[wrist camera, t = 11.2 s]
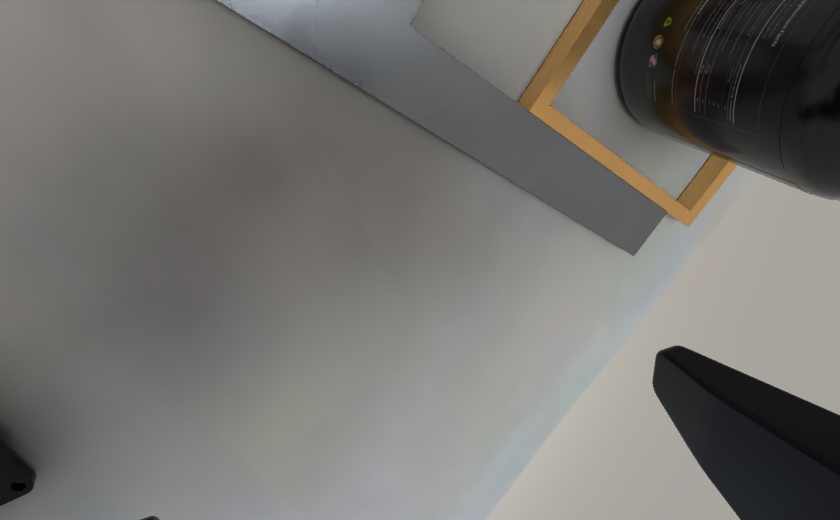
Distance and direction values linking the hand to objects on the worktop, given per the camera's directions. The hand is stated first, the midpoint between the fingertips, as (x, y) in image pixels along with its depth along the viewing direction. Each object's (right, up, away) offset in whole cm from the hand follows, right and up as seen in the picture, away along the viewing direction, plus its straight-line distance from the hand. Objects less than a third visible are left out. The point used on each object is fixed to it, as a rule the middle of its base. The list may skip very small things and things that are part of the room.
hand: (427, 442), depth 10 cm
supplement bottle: (+11, +12, +13) cm, 21 cm away
